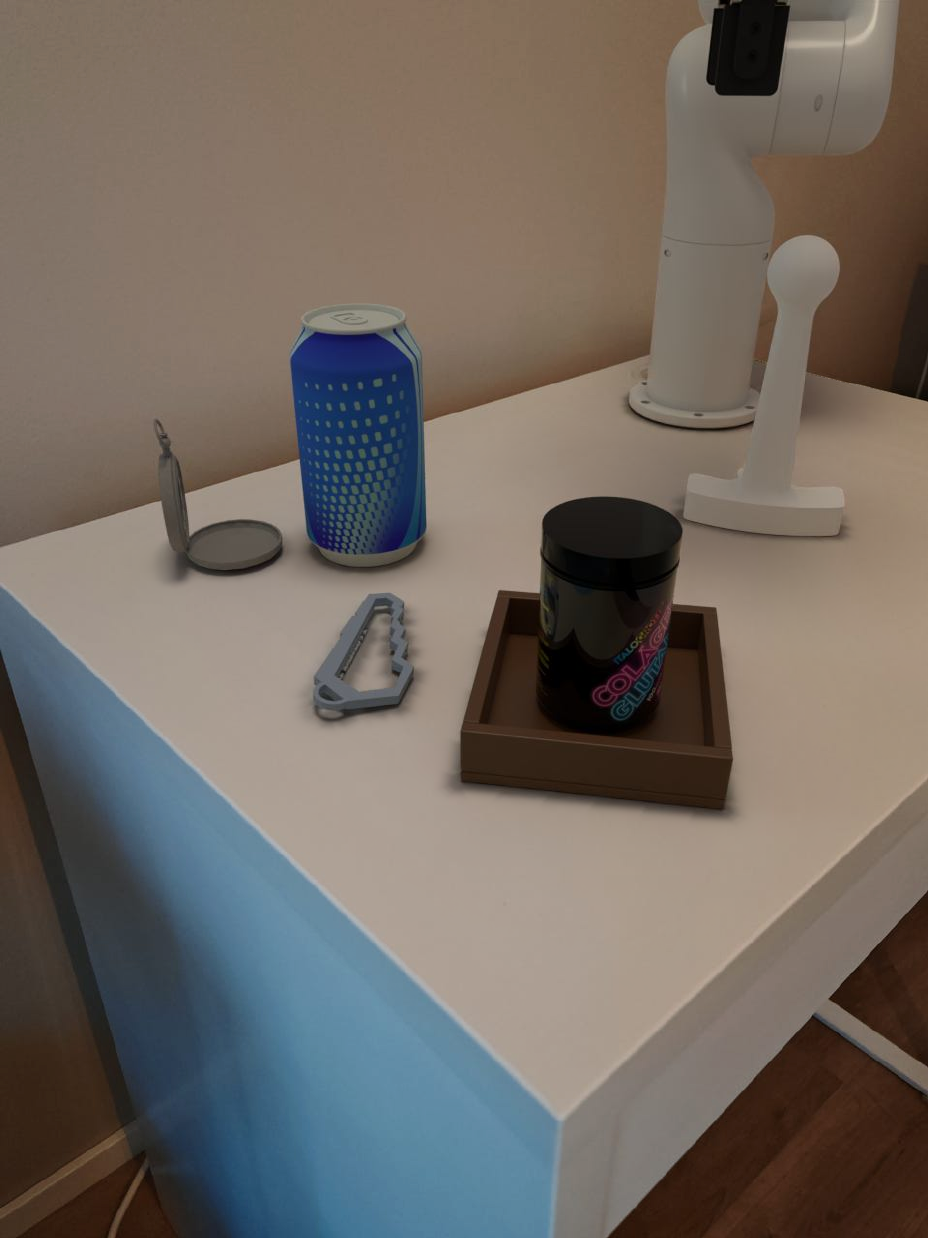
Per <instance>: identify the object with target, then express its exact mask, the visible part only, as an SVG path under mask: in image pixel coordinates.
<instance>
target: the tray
mask: <svg viewBox="0 0 928 1238" xmlns="http://www.w3.org/2000/svg"><path fill="white" fill-rule="evenodd" d="M539 597H540V592H529V591H520V590H519V591H518V590H504V589H499V590H498V591H497V594H496V598H495V602H494V605H493V609H492V613H491V616H490V619H489V623H488V627H487V631H486V634H485V639H484V643H483V646H482V650H481V653H480V656H479V661H478V664H477V668H476V672H475V676H474V679H473V683H472V685H471V690H470V694H469V698H468V701H467V704H466V709H465V712H464V715H463V719H462V724H461V727H460V732H459V736H460V737H459V743H460V744H459V746H460V747H459V748H460V749H459V750H460V752H459V753H460V755H459V756H460V762H459V763H460V772H459V773H460V774H459V775H460V776H459V777H460V781H462V782H470V783H477V784H478V783H479V784H487V785H497V786H506V787H515V788H523V789H533V790H543V791H553V792H561V793H569V794H570V793H572V794H578V795H590V796H598V797H607V798H617V799H624V800H634V801H644V802H652V803H661V804H671V805H681V806H689V807H699V808H709V809H717V810H724V809H725V805H726V798H727V795H728V794H727V793H728V789H729V783H730V778H731V773H732V768H733V763H734V756H733V745H732V736H731V729H730V728H731V726H730V717H729V709H728V708H729V707H728V699H727V690H726V682H725V672H724V663H723V654H722V653H723V652H722V644H721V635H720V626H719V616H718V611H717V610H718V609H717V607H716V606H703V605H691V604H678V603H673V606H672V614H671V622H670V630H669V637H668V645H667V653H666V661H665V669H664V676H663V684H662V692H661V699H660V703H659V705H658V707H657V709H656V710H655V712H654V713H653V714H652V715H651V717H650V718H648V719H647V720H646V721H645V722H643V723H642V724H640V725H638V726H636V727H634V728H632V729H629V730H626V731H622V732H617V733H604V734H602V733H590V732H584V731H580V730H576V729H573V728H571V727H568V726H566V725H564V724H562V723H560V722H559V721H557V720H556V719H554V718H553V717H552V716H551V715H550V714H549V713H548V712H547V711H546V710H545V709H544V708H543V706H542V705H541V703H540V701H539V699H538V696H537V694H536V665H537V642H538V619H539Z"/></svg>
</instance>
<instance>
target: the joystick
mask: <svg viewBox="0 0 928 1238" xmlns="http://www.w3.org/2000/svg"><path fill="white" fill-rule="evenodd" d="M840 263H841V262H840V258H839V255H838V253H837V250H836V249H835V248H834V246H833V245H832V244H831V243H830V242H829V241H828V240H826V239H825V238H823V237H820V236H817V235H811V234H804V235H798V236H794V237H792V238H790V239H788V240H787V241H785V242H783V243H782V244H781V245H780V246H779V247H778V248H777V249H776V250H775V252H774V253H773V254H772V256H771V258H770V259H769V263H768V269H767V276H766V282H767V285H768V288H769V290H770V293H771V294H772V296H773V297H774V299H775V302H776V306H777V317H776V320H775V321H776V322H775V326H774V330H773V335H772V340H771V343H770V348H769V353H768V357H767V361H766V367H765V371H764V376H763V379H762V384H761V389H760V392H759V394H760V398H759V402H758V407H757V411H756V416H755V420H753V425H752V430H751V435H750V438H749V443H748V448H747V452H746V457H745V462H744V465H743V466H742V467H740V468H739V469H738V470H737V474H736V478H734V479H724V478H720V477H715V476H711V475H707V474H703V473H700V472H699V473H698V472H696V473H695V472H694V473H693V472H692V473H690V474H689V475H688V478H687V484H686V489H685V490H686V491H685V498H684V504H683V505H684V507H683V508H684V509H683V514H682V517H683V519H685V520H687V521H691V522H695V523H698V524H702V525H708V526H713V527H717V528H721V529H722V528H723V529H728V530H733V531H738V532H739V531H741V532H747V533H755V534H765V535H775V536H791V537H828V536H830V537H831V536H832V537H833V536H837V535H839V533H840V529H841V524H842V519H843V515H844V510H845V507H846V504H845V503H846V502H845V496H844V491H843V490H842V489H841V488H840V487H837V486H814V487H811V486H810V487H804V486H799V485H795V484H794V483H793V476H794V470H795V469H794V468H795V460H796V452H797V445H798V437H799V431H800V430H799V429H800V422H801V414H802V405H803V399H804V393H805V392H804V390H805V383H806V376H807V368H808V361H809V354H810V353H809V352H810V346H811V345H810V344H811V336H812V328H813V321H814V316H815V314H816V311H817V310H818V308H819V306H820V305H821V304H822V302H823V301H824V300H825V299H826V298H827V297H829V296H830V294H831V293H832V292H833V290H834V289H835V287H836V285H837V283H838V281H839V276H840V271H841V264H840Z"/></svg>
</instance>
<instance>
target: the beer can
mask: <svg viewBox="0 0 928 1238" xmlns="http://www.w3.org/2000/svg"><path fill="white" fill-rule="evenodd" d="M406 322H407V314H406V312H405V311H404V310H402V309H400V308H398V307H395V306H392V305H391V306H390V305H385V304H377V303H362V302H361V303H360V302H359V303H358V302H357V303H355V302H354V303H340V304H339V303H338V304H332V305H326V306H321V307H317V308H313V309H310V310H308V311H306V312H305V313H303V315H301V317H300V324H301V328H300V331H299V333H298V335H297V337H296V339H295V341H294V343H293V345H292V347H291V349H290V351H289V365H290V366H289V367H290V377H291V378H290V379H291V387H292V397H293V407H294V408H293V409H294V416H295V417H294V418H295V428H296V437H297V448H298V457H299V466H300V468H299V469H300V477H301V488H302V497H303V498H302V499H303V510H304V517H305V519H304V520H305V528H306V529H305V530H306V535H307V537H308V539H309V541H310V542H311V543H312V544H313V545H315V546H316V547H317V548H318V550H319V553H321V555H322V556H323V557H325V558H326V559H327V560H329V561H331V562H333V563H336V564H338V565H343V566H347V567H353V568H372V567H379V566H380V567H381V566H385V565H389V564H394V563H396V562H398V561H401V560H403V559H405V558H406V557H408V556H409V555H411V554H412V553H413V551H414V550H415V548H416V547H417V544H418V542H419V541H420V540H421V539H422V538H423V536H424V535H425V533H426V531H427V493H426V492H427V491H426V489H427V488H426V457H425V455H426V454H425V419H424V417H425V416H424V413H425V412H424V384H423V383H424V382H423V379H424V378H423V377H424V376H423V351H422V348H421V346H420V344H419V342H418V340H417V339H416V337H415V336H414V335H413V333H412V331H411V329H410V328H409V326H408V325H407V323H406Z"/></svg>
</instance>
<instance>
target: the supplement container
mask: <svg viewBox="0 0 928 1238" xmlns="http://www.w3.org/2000/svg"><path fill="white" fill-rule="evenodd" d="M683 530H684V529H683V526H682V523H681V521H680V520H679V519H678V518H677V517H676V516H675V515H674V514H673V513H671V512H669V511H667V510H666V509H664V508H662V507H660V506H657V505H656V504H653V503H650V502H646V501H643V500H640V499H635V498H630V497H623V496H608V495H606V496H603V495H602V496H599V495H598V496H586V497H579V498H576V499H575V498H574V499H570V500H566V501H565V502H562V503H559V504H557V505H555V506H553V507H552V508H550V509H549V510H548V511H547V512H546V513H545V514H544V516H543V518H542V521H541V538H540V539H541V540H540V549H539V556H540V574H539V575H540V577H539V593H540V597H539V619H538V642H537V665H536V694H537V696H538V699H539V701H540V703H541V705H542V706H543V708H544V709H545V710H546V711H547V712H548V713H549V714H550V715H551V716H552V717H553V718H554V719H556V720H557V721H559V722H560V723H562V724H564V725H566V726H568V727H571V728H573V729H576V730H580V731H584V732H590V733H602V734H604V733H617V732H622V731H626V730H629V729H632V728H634V727H636V726H638V725H640V724H642V723H643V722H645V721H646V720H647V719H648V718H650V717H651V715H652V714H653V713H654V712H655V710H656V709H657V707H658V705H659V703H660V699H661V692H662V684H663V676H664V669H665V661H666V653H667V645H668V637H669V630H670V622H671V614H672V606H673V604H674V598H675V591H676V581H677V574H678V569H679V566H680V561H681V549H682V548H681V547H682V541H683V533H684V532H683Z"/></svg>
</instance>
